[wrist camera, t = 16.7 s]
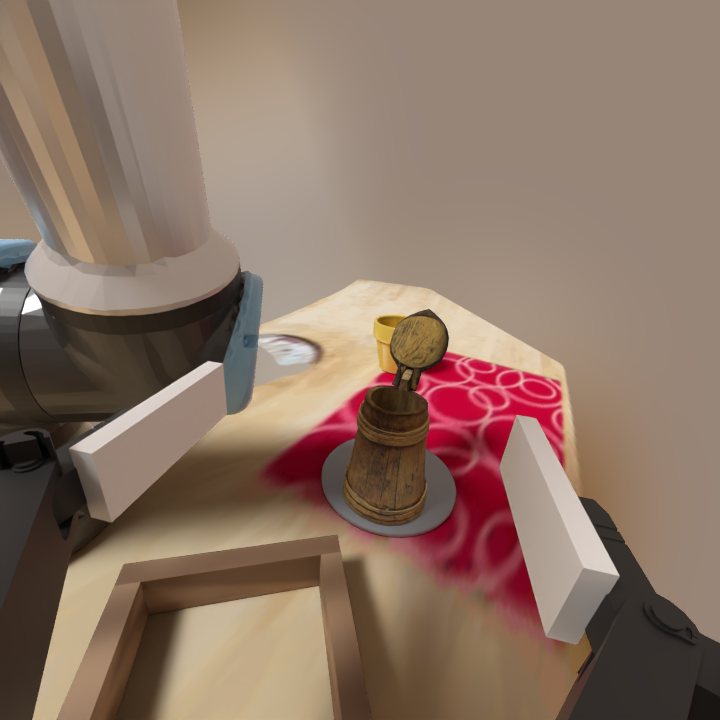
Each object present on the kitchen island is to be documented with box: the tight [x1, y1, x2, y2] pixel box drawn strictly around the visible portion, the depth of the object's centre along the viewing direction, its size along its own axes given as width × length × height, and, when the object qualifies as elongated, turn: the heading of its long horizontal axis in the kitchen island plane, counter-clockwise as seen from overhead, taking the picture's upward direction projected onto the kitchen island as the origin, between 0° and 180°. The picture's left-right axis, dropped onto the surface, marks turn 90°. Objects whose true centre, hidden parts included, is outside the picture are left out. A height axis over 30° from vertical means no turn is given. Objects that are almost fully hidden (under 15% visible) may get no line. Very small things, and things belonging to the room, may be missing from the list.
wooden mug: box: [342, 309, 449, 526], centre depth 34 cm, size 9×14×18 cm, turn 157°
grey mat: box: [321, 439, 456, 538], centre depth 38 cm, size 15×15×1 cm
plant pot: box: [374, 315, 408, 374], centre depth 65 cm, size 10×10×10 cm
